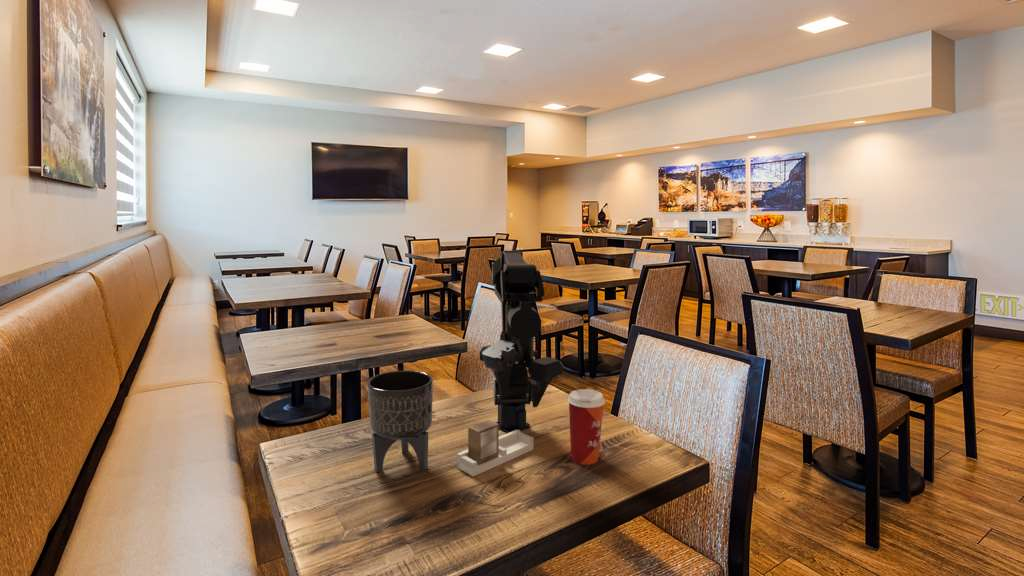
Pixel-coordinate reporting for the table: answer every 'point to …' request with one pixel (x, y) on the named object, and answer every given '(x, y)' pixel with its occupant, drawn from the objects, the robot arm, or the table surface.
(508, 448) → the white tray base
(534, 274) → the robot arm
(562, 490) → the table surface
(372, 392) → the planter
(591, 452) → the paper cup
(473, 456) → the tall taupe pillar block
